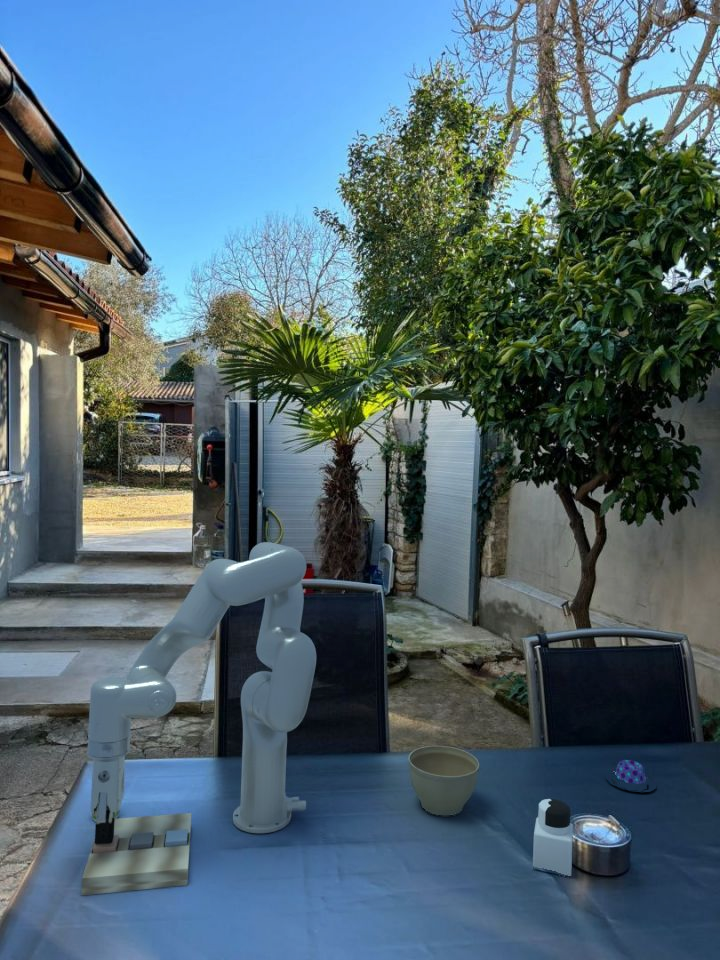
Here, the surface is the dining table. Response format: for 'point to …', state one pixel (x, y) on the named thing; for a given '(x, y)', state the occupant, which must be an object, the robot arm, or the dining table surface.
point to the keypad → (140, 858)
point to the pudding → (630, 772)
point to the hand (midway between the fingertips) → (104, 841)
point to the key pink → (107, 846)
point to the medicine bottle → (553, 837)
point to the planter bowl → (443, 778)
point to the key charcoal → (141, 841)
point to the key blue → (176, 838)
